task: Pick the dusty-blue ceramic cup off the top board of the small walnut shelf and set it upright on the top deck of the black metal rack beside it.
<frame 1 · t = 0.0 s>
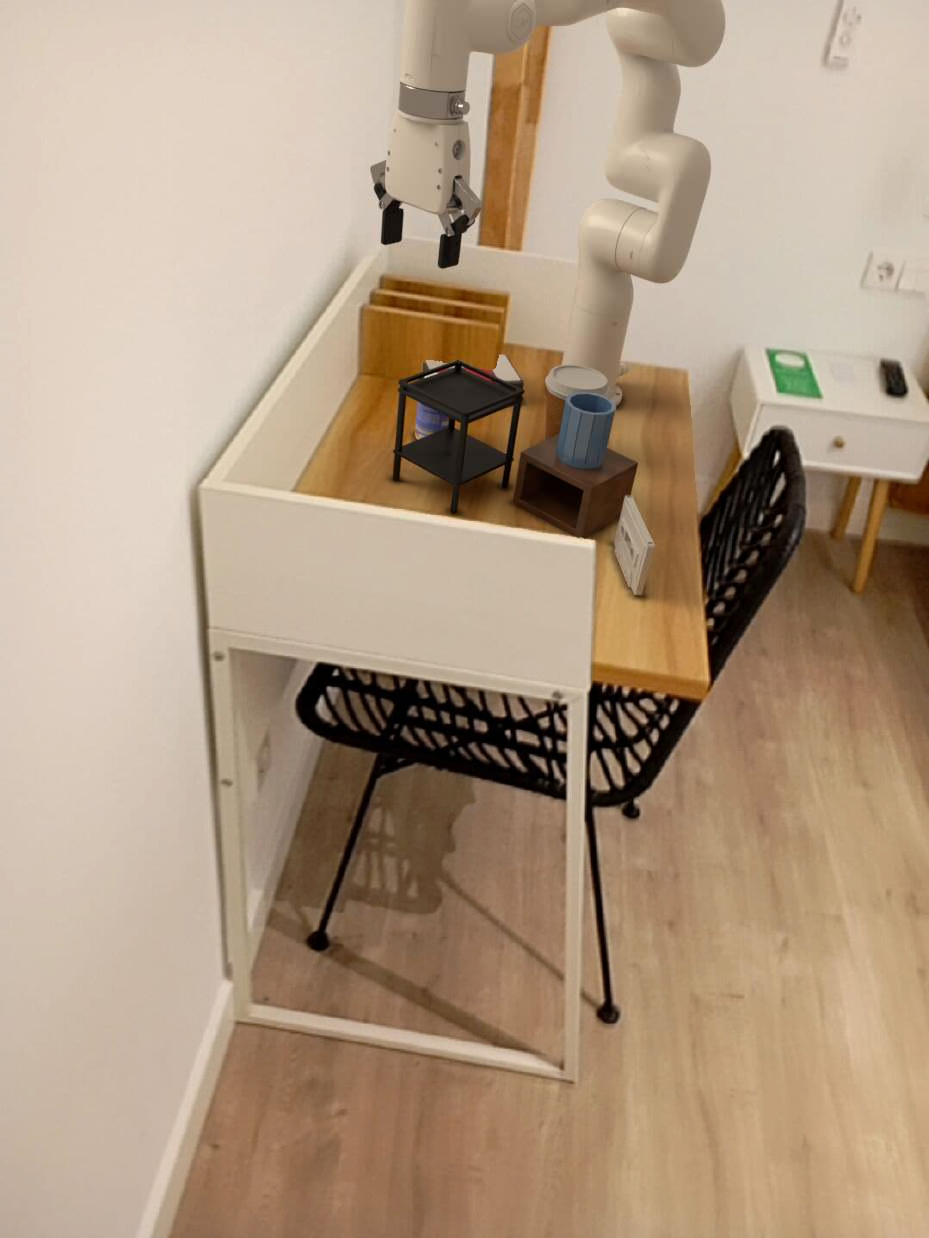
hand: (419, 254, 126), 31 cm above the table, tool pointing down, fingers open, 9 cm apart
shelf: (569, 507, 142), on the table
pill bottle: (432, 439, 155), on the table
calculator: (470, 390, 170), on the table
disposable coffee cup: (564, 450, 156), on the table
blue cup: (580, 457, 138), point 8 cm above the table, touching shelf
cassette: (626, 570, 132), on the table
rack: (450, 483, 144), on the table
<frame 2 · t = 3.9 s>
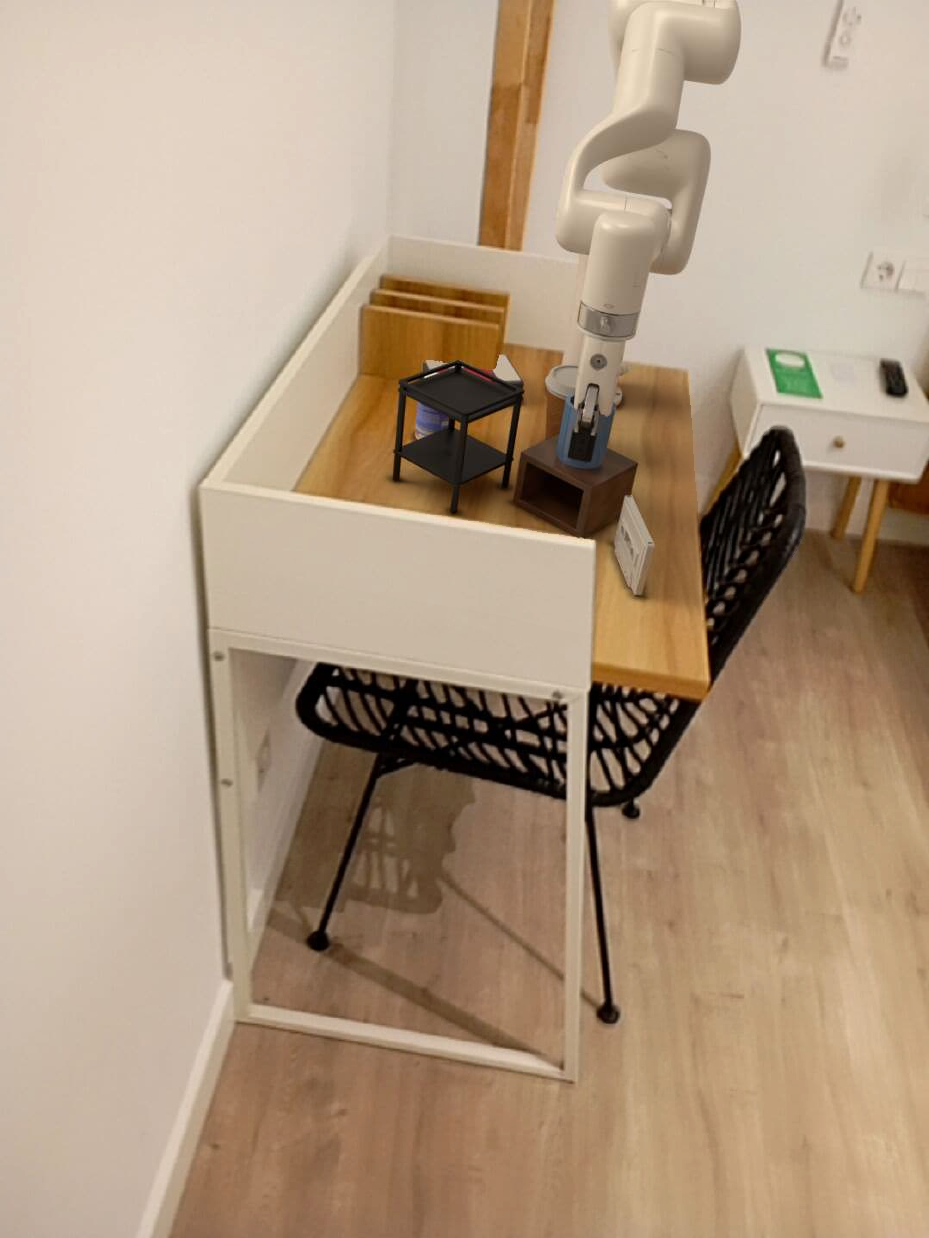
hand: (582, 445, 137), 10 cm above the table, tool pointing down, fingers closed on blue cup, 6 cm apart
blue cup: (580, 457, 138), point 8 cm above the table, touching gripper, shelf
everything else where it was.
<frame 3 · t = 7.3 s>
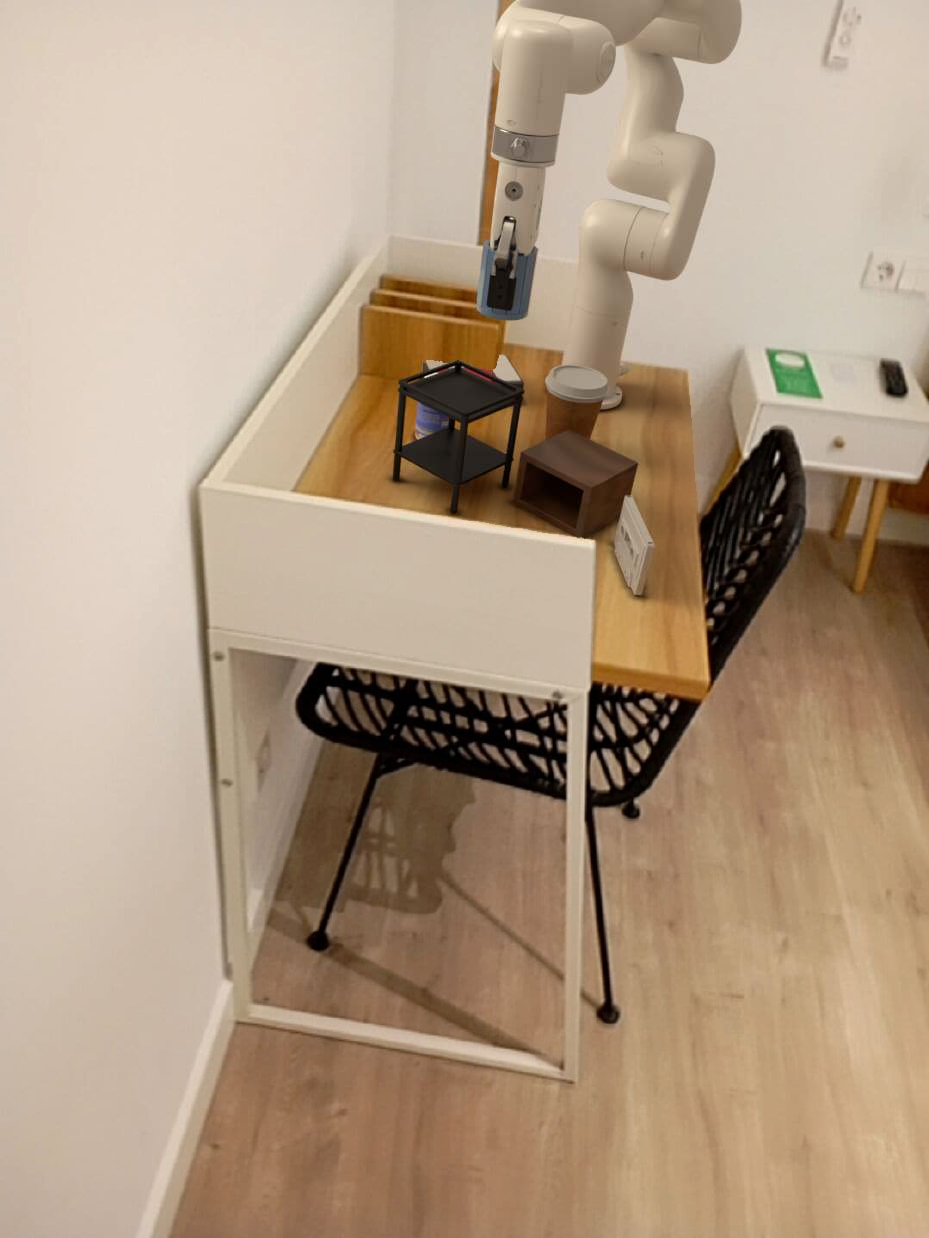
hand: (503, 297, 127), 28 cm above the table, tool pointing down, fingers closed on blue cup, 6 cm apart
blue cup: (502, 310, 128), point 26 cm above the table, touching gripper
everything else where it was.
when the fingers open (16 cm above the table, at t = 10.9 s): blue cup stays where it is, resting on rack.
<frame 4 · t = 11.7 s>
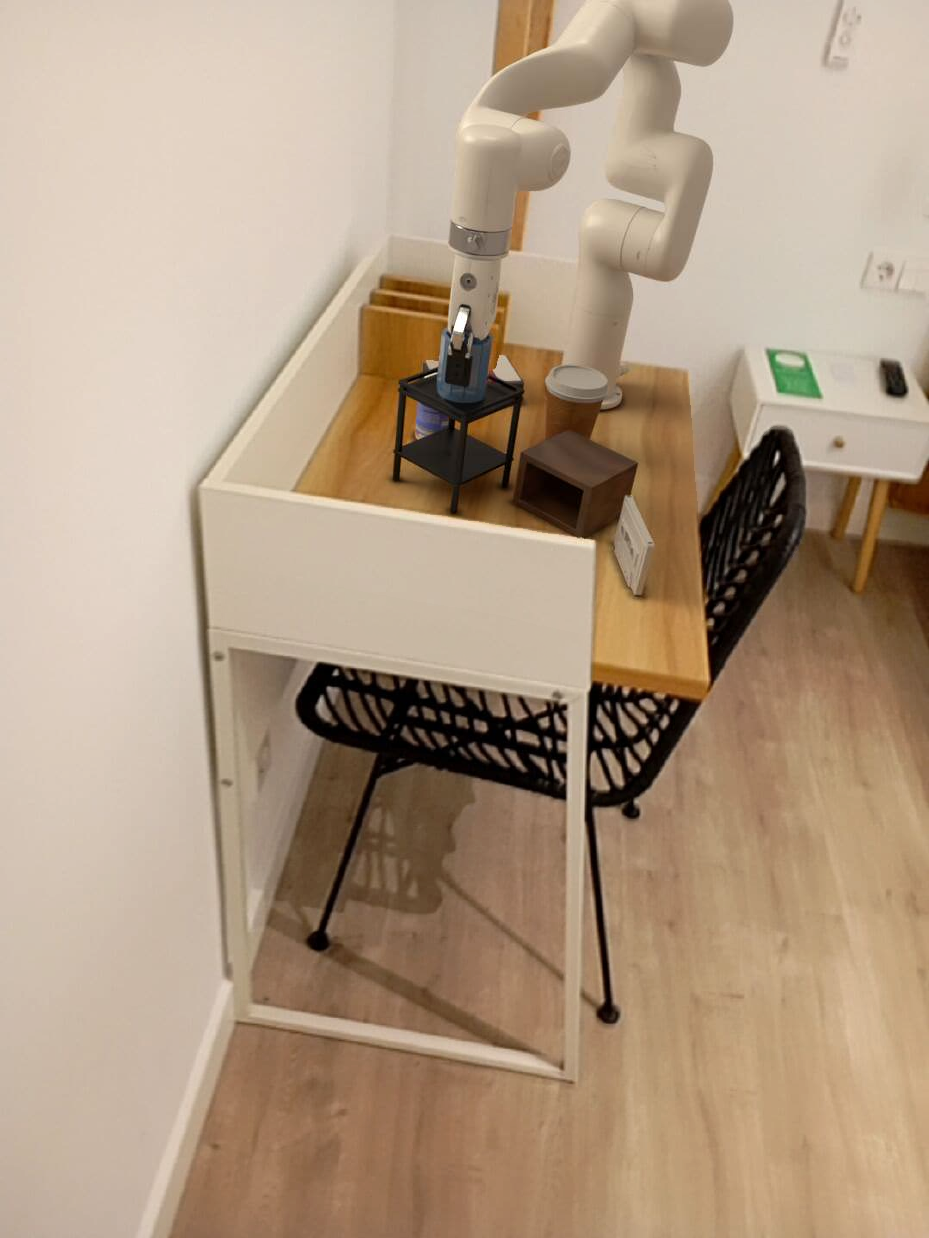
hand: (464, 369, 134), 17 cm above the table, tool pointing down, fingers open, 9 cm apart
blue cup: (461, 392, 136), point 14 cm above the table, touching rack
everything else where it was.
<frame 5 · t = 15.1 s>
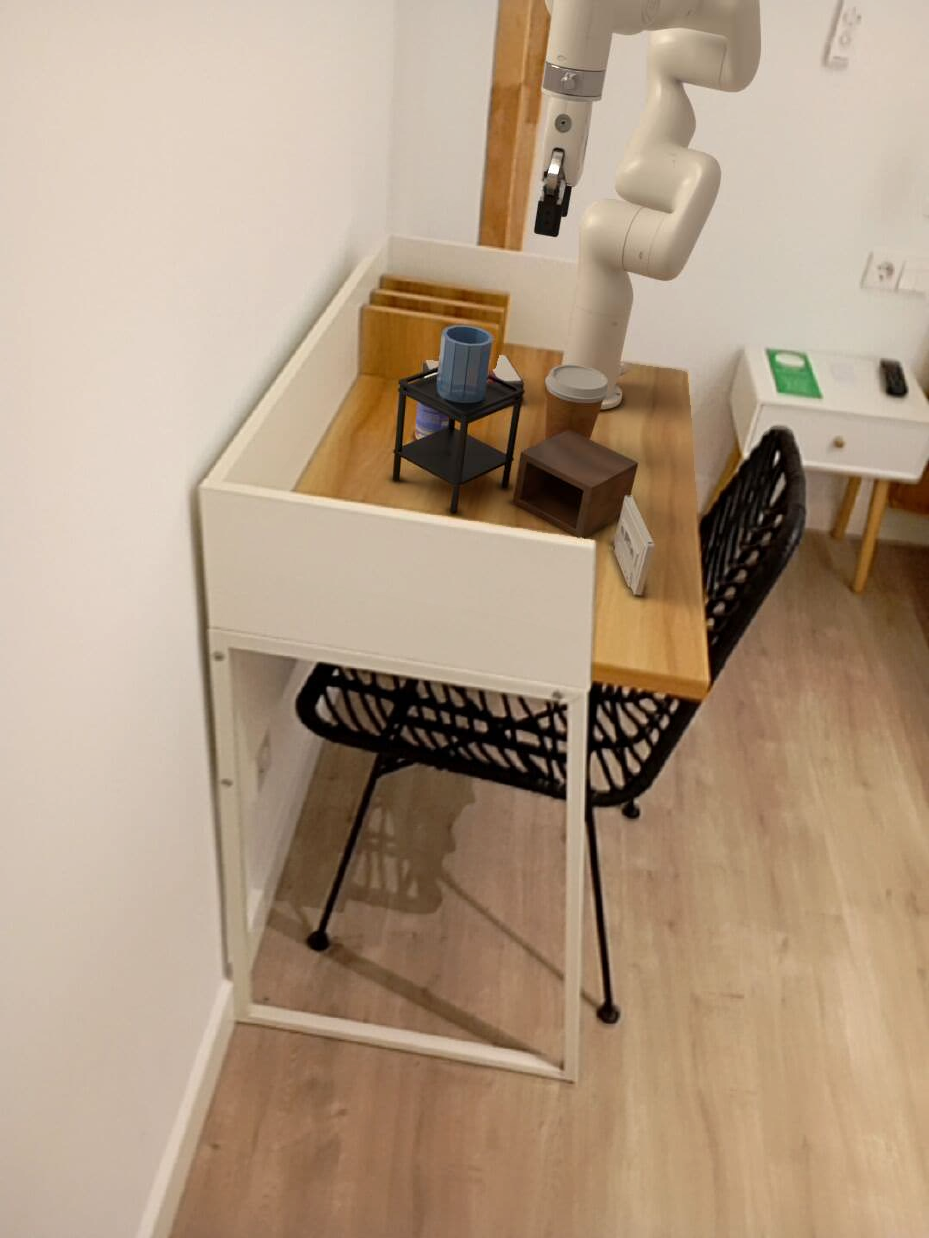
hand: (550, 224, 135), 33 cm above the table, tool pointing down, fingers open, 9 cm apart
nothing on the table moved.
at the end: blue cup inside the target area on the rack (0.0 cm from its centre), point 14.0 cm above the rack's base; blue cup tilted 0°; the gripper is holding nothing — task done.
